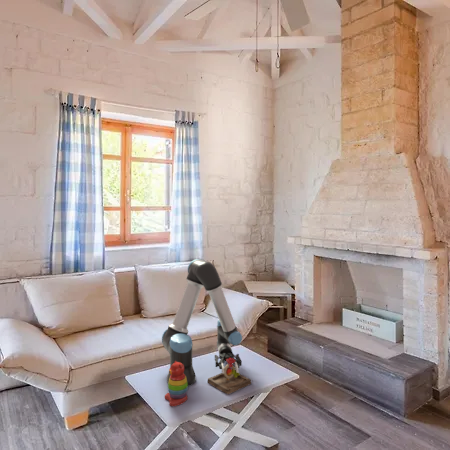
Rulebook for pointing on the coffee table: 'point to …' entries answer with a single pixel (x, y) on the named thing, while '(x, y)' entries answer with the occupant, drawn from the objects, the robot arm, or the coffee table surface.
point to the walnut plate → (229, 383)
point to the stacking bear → (177, 385)
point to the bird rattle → (227, 371)
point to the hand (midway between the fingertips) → (230, 370)
